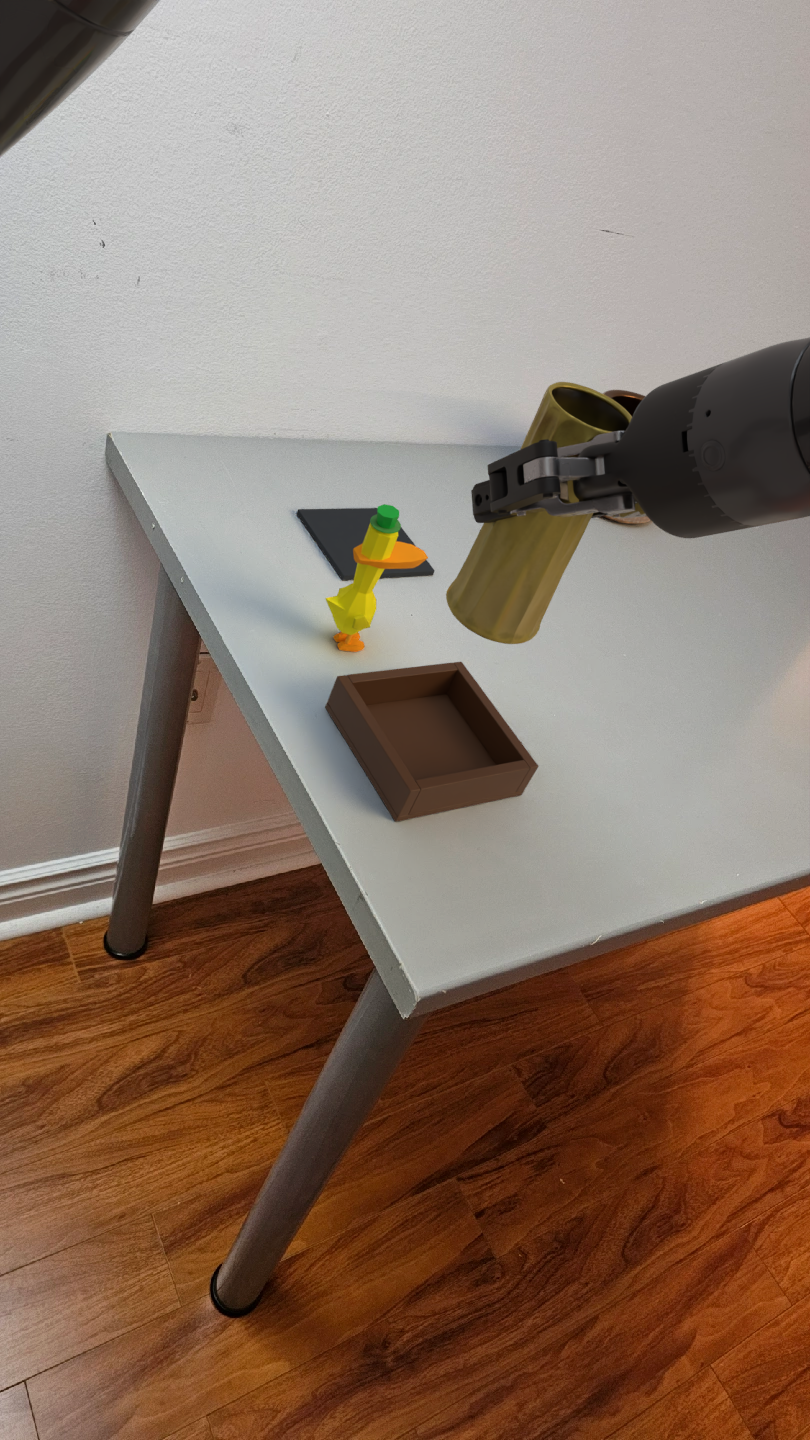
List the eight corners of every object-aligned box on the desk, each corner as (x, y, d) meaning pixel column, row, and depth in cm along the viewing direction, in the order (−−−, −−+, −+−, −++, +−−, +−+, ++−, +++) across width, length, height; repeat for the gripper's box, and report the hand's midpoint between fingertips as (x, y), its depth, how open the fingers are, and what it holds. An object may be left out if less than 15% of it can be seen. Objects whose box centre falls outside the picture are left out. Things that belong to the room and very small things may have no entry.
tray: (395, 822, 68) (410, 791, 66) (324, 707, 73) (336, 675, 71) (521, 795, 73) (539, 766, 71) (447, 690, 79) (461, 660, 77)
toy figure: (381, 627, 82) (433, 498, 74) (398, 658, 80) (453, 529, 72) (301, 628, 79) (347, 493, 71) (317, 660, 77) (366, 525, 69)
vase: (474, 649, 62) (579, 435, 53) (427, 582, 65) (518, 372, 56) (554, 643, 65) (666, 442, 56) (505, 580, 68) (603, 381, 59)
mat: (342, 580, 85) (344, 575, 85) (296, 513, 90) (297, 508, 89) (433, 575, 90) (435, 570, 90) (384, 512, 95) (386, 507, 94)
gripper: (847, 370, 51) (604, 446, 66) (634, 341, 44) (411, 435, 58) (856, 526, 52) (612, 567, 66) (646, 524, 44) (422, 572, 58)
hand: (519, 505), depth 62 cm, fingers closed on vase, 5 cm apart
